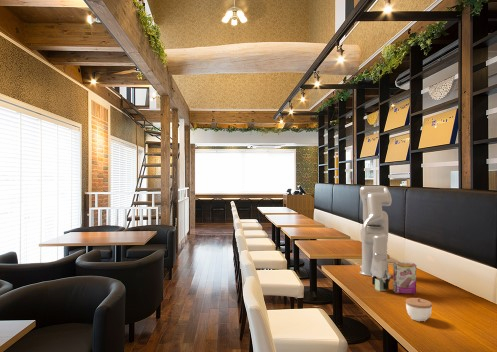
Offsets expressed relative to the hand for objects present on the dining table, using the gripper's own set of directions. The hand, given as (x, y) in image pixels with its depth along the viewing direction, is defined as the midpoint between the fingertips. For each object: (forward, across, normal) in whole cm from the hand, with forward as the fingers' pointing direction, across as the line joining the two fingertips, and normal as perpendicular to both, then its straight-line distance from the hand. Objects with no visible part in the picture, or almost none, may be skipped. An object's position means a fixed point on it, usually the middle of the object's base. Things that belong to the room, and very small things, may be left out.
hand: (380, 286), depth 200 cm
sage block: (+2, 0, 0) cm, 2 cm away
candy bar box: (+2, +8, +10) cm, 13 cm away
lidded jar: (+2, +41, -11) cm, 42 cm away
